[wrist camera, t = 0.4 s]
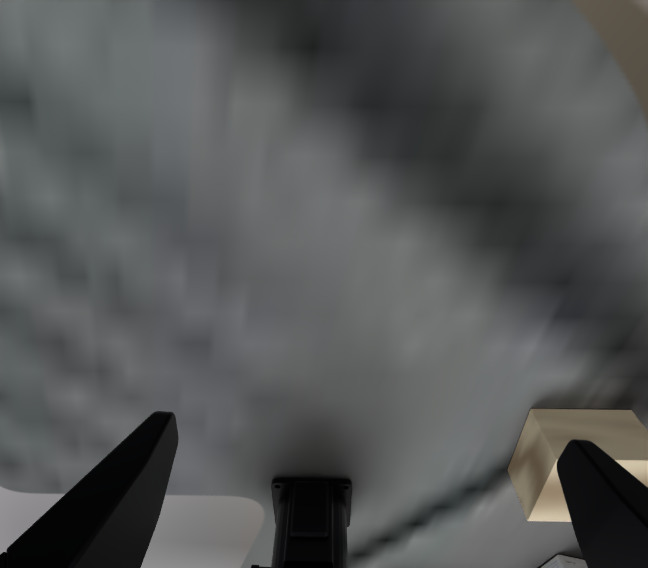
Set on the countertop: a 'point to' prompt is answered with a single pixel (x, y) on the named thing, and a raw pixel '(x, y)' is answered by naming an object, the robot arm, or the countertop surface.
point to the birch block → (549, 442)
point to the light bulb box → (565, 562)
